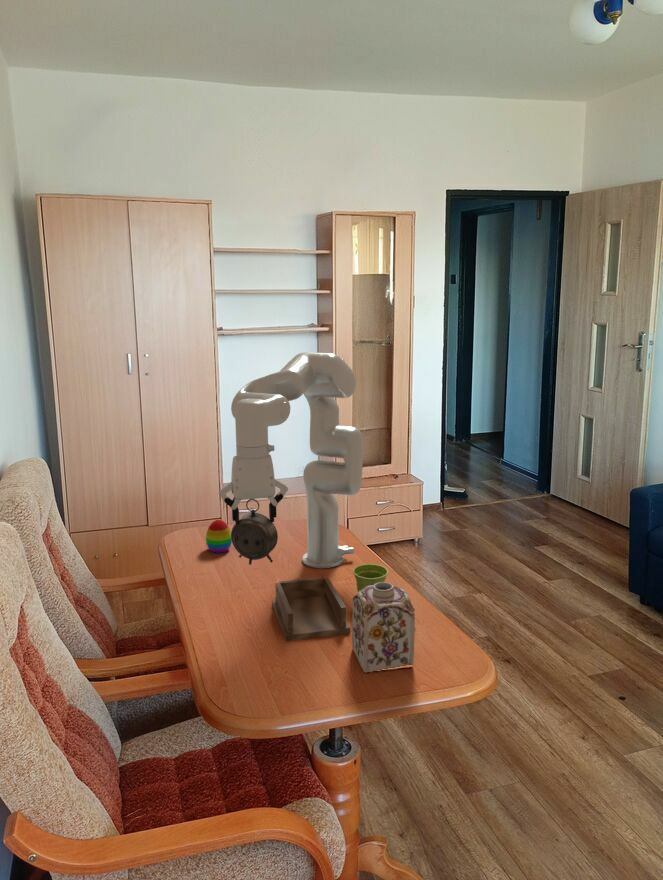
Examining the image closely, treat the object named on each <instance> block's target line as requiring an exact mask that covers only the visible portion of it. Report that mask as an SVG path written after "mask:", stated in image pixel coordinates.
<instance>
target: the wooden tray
mask: <svg viewBox="0 0 663 880" xmlns="http://www.w3.org/2000/svg"><path fill="white" fill-rule="evenodd" d="M271 601H272V602H271V603H272V608H273V609H274V614H275V616H276V618H277V621H278V624H279V627H280V629H281V632H282V634H283V637H284V639H285V642H290V641H298V640H307V639H315V638H322V637H330V636H338V635H339V634H340V635H346V633H348V634H351V626H350V624H349V623H348V621H347V607H346V605H345V603H344V602H343V600H342V598H341V597H340V595H339V593H338V591H337V589H336V588H335V586H334V585H333V582H332V581H331V579H330V578H329V577H325V576H319V577H318V576H317V577H310V578H309V577H307V578H299V579H290V580H280V581H278V582H276V583H275V598H274V599H272V600H271Z"/></svg>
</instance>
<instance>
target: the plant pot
mask: <svg viewBox="0 0 663 880" xmlns="http://www.w3.org/2000/svg"><path fill="white" fill-rule="evenodd" d="M352 573H353V575H354V578H355V581H356V590H357V593H358V592H359V591H360V590H362V589H363V588H365V587H367V586H370V585H374V584H376V583H379V582H386V579H387V576H388V575H389V570H388V568H387V567H385V566H384V565H380V564H376V563H364V564H360V565H357V566H355V567H354V568H353V569H352Z"/></svg>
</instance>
